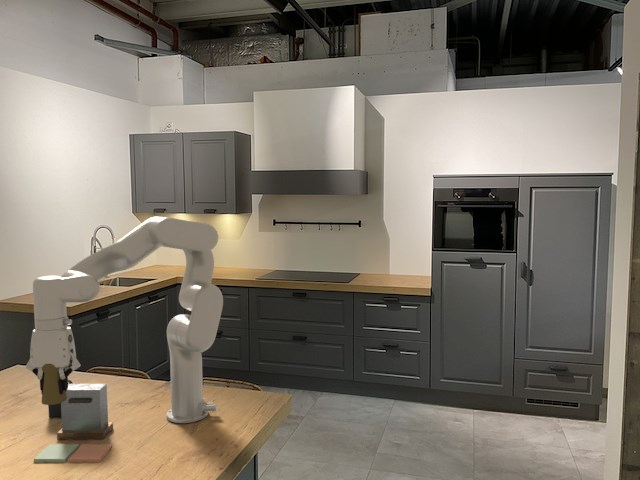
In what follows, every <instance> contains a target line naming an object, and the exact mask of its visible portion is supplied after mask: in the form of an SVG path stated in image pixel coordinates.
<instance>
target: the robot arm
mask: <svg viewBox="0 0 640 480" xmlns="http://www.w3.org/2000/svg"><path fill="white" fill-rule="evenodd" d="M218 241H219V234H218V231H217V229H216V228H215V227H214V226H213V225H211V224H210V223H206V222H205V223H203V222H198V221H193V220H192V221H190V220H185V219H179V218H174V217H167V216H153V217H150V218H148V219H146V220H144V221H143V222H142V223H140V224H139V225H137V226H136V227H135V228H133V229H132V230H131V231H129V232H128V233H126V234H125V235H123V236H122V237H120V238H119V239H118V240H116V241H115V242H112V243H111V244H109V245H107V246H106V247H103V248H102V249H100V250H98V251H96V252H94V253H92V254H90V255H88V256H86V257H84V258H83V259H82V260H81V261H79V262H77V263H76V264H74V265H73V266H72V267H70V268H69V269H67V270H66V271H65V272H63V274H62V275H61V276H59V275H43V276H38V277H37V278H35V279H34V280H33V282H32V299H33V314H34V315H33V317H34V329H33V330H32V333H31V338H30V339H31V340H30V347H29V348H30V349H29V353H30V354H29V360H28V361H27V363H26V365H25V369H27V370H29V371H30V372H32V373H33V374H34V375H35V376H36V378H37V379H38V380H39V389H40V391H41V392H40V393H41V395H42V394H43V385H44V372H43V371H42V367H43V365H45V364H53V365H54V366H55V367H56V368H59V374H60V379H59V380H58V385H59V393H60V394H63V391H64V390H65V392H66V391H67V389H68V380H69V378H68V377H69V376H70V375H71V374H72V373H73V372H74V371H76V370H77V369H79V368H80V367H81V363H80V362H79V360H78V359H77V353H76V352H77V351H76V345H75V339H74V338H75V337H74V335H73V330H72V328H71V326H69V325H72V324H73V319H69V316H68V313H67V311H68V310H67V303H69V304H70V303H74V304H75V303H77V304H78V303H81V304H82V303H88V302H91V301H92V300H94V299H95V298H96V297H98V296H99V293H100V290H101V287H100V283H99V281H100V280H101V279H103V278H105V277H106V276H109V275H112V274H115V273H118V272H123V271H126V270H129V269H132V268H134V267H135V266H137V265H138V264H140V263H141V262H142V261H144V260H145V259H146V258H147V257H148V256H150V255H152V254H153V253H155V251H157V250H158V249H159V248H161V247H164V248H171V249H175V250H182V251H183V253H184V255H185V256H184V257H185V263H186V264H185V269H184V273H183V274H184V275H183V278H182V282H181V286H180V289H179V294H178V302H179V304H180V306H181V307H182V308H183V309H185V310H187V311H189V312H191V313H190V314H187V313H185V314H184V313H183V314H182V313H181V314H177V315H175V316H173V318H171V319H170V321H169V322H168V325H167V327H166V339H167V344H168V351H169V360H170V361H169V362H170V363H169V364H170V366H169V367H170V369H169V370H170V403H171V404H170V405H171V408H170V409H168V410H167V412H166V415H165V417H166V419H167V420H168V421H169V422H171V423H175V424H189V423H190V424H191V423H194V422H199V421H201V420H203V419H205V418H207V416H208V415H209V411H210V412H217V410H218V406H217V404H215V402H212V401H211V402H208V401H206V397H203V386H204V385H203V357H202V356H203V355H202V353H203V352H206V351H207V350H208V349H210V348H211V347H212V345H214V342H215V340H216V337H217V333H218V330H219V329H218V328H219V326H220V325H219V324H220V321H221V320H220V319H221V316H222V312H223V307H224V297H223V293H222V290H221V289H220V288H219V287H218V286H217V285H215V284H212V282H213V281H212V280H213V275H214V274H213V273H214V269H215V257H214V255H213V251H212V250H214V249H215V247H216V246H217V244H218V243H219V242H218ZM70 365H71V366H70ZM69 366H70V367H69Z"/></svg>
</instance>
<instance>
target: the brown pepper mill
mask: <svg viewBox="0 0 640 480" xmlns="http://www.w3.org/2000/svg"><path fill="white" fill-rule="evenodd" d="M42 371H43V372H44V385H43V394H42V393H41V404H42V405H45V406H48V405H54V404H59V403H62V402H64V401H66V400H67V395H66V392H65V390H64V391H63V394H60V393H59V385H58V380H59V379H60V374H59V368H56V367H55V366H54V365H53V364H45V365H43V367H42Z"/></svg>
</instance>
